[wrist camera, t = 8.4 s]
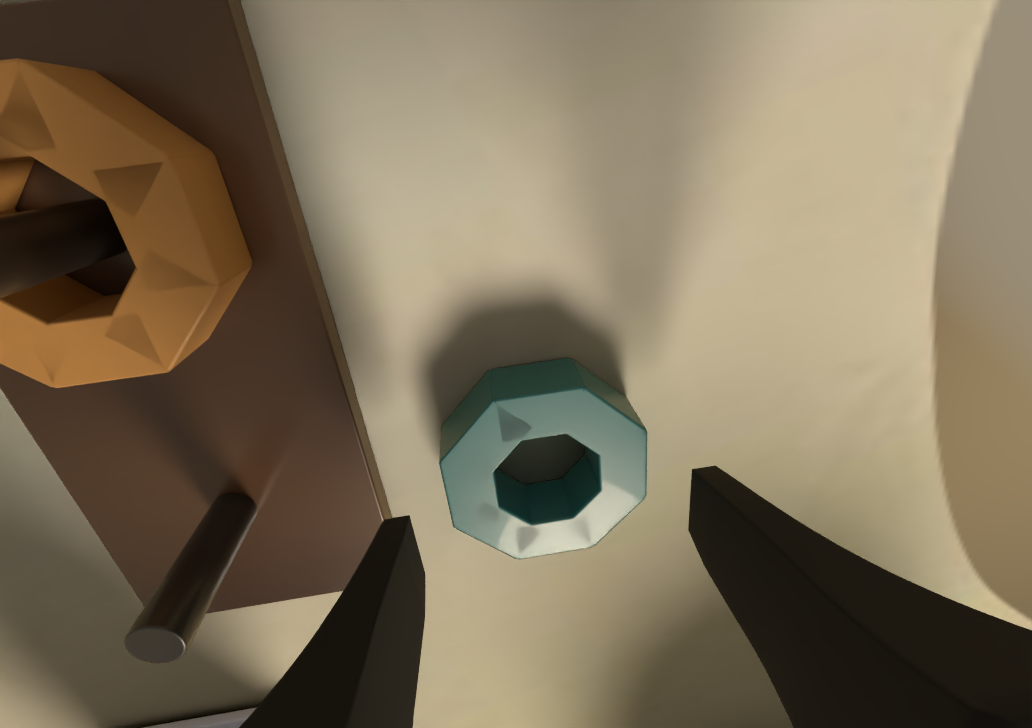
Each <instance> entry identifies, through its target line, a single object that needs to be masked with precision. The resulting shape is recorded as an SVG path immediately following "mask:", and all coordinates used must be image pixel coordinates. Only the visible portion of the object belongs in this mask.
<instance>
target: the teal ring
mask: <svg viewBox="0 0 1032 728" xmlns="http://www.w3.org/2000/svg"><path fill="white" fill-rule="evenodd" d="M562 434H567V435H569V436H570V437H572V438H573V439H575V440H576V441H578V442H579V443H581V444H583V445H584V446H585V450H586V454H585V455H584V456H583V457H582V458H581V459H580V460H579V461H578V462H577V463H576V464H575V465H574V466H573V467H572V468H571V469H570V470H569V471H568V472H567V473H566V475H565V476H564V477H563V478H562V479H557V480H551V481H544V482H538V483H532V484H525V485H524V484H522V483H520V482H518V481H517V480H515V479H513V478H511V477H510V476H508V475H506V474H504V473H503V472H501V471H499V470H498V469H496V468H497V467H498V466H499V465H500V464H501V463H502V462H503V461H504V460H505V458H506V457H507V456H508V455H509V454H510V453H511V452H512V451H513V450H514V449H515V447H516V446H517V445H518V444H519V443H520V442H521V441H523V440H530V439H536V438H542V437H549V436H555V435H562ZM439 464H440V469H441V473H442V478H443V482H444V487H445V491H446V496H447V500H448V505H449V509H450V514H451V518H452V523H453V527H454V528H456V529H457V530H459V531H461V532H463V533H465V534H467V535H469V536H471V537H473V538H475V539H477V540H479V541H481V542H483V543H485V544H487V545H489V546H491V547H493V548H495V549H497V550H499V551H501V552H503V553H505V554H507V555H509V556H511V557H513V558H515V559H517V558H518V559H525V558H531V557H537V556H543V555H549V554H555V553H562V552H568V551H574V550H580V549H586V548H591V547H592V546H595V545H596V544H597V543H598V542H599V541H600V540H601V539H602V538H603V537H604V536H605V535H606V534H608V533H609V532H610V531H611V530H612V529H613V528H614V527H615V526H616V525H617V524H618V523H619V522H620V521H621V520H622V519H623V518H624V517H626V516H627V515H628V514H629V513H630V512H631V511H632V510H633V509H634V508H635V507H636V506H637V505H638V504H639V503H640V502H641V501H642V500H644V498H645V496H646V489H647V430H646V428H645V427H644V425H643V423H642V422H641V420H640V419H639V417H638V415H637V414H636V412H635V411H634V409H633V408H632V406H631V404H630V403H629V401H628V400H627V398H626V397H624V396H623V395H622V394H620V393H619V392H618V391H616V390H615V389H613V388H612V387H611V386H609V385H608V384H606V383H605V382H604V381H602V380H601V379H600V378H598V377H597V376H595V375H594V374H593V373H591V372H590V371H588V370H587V369H586V368H584V367H583V366H582V365H580V364H579V363H577V362H576V361H575V360H573V359H570V358H565V359H558V360H551V361H545V362H538V363H531V364H524V365H517V366H510V367H504V368H497V369H491V370H488V371H487V372H486V374H485V375H484V376H483V377H482V378H481V380H480V381H479V382H478V383H477V384H476V386H475V387H474V388H473V389H472V390H471V392H470V393H469V394H468V395H467V396H466V398H465V399H464V400H463V401H462V402H461V404H460V405H459V406H458V407H457V408H456V410H455V411H454V412H453V413H452V414H451V416H450V417H449V418H448V419H447V420H446V422H445V423H444V424H443V425H442V428H441V442H440V461H439Z"/></svg>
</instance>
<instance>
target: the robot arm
mask: <svg viewBox="0 0 1032 728" xmlns="http://www.w3.org/2000/svg"><path fill="white" fill-rule="evenodd" d="M688 530H689V532H690V534H691V537H692V539H693V541H694V544H695V546H696V548H697V551H698V553H699V555H700V557H701V559H702V562H703V564H704V566H705V568H706V570H707V571H708V573H709V575H710V576H711V578H712V580H713V582H714V583H715V585H716V587H717V588H718V590H719V592H720V593H721V595H722V597H723V598H724V600H725V602H726V603H727V605H728V607H729V608H730V610H731V612H732V613H733V615H734V617H735V618H736V620H737V622H738V623H739V625H740V627H741V628H742V630H743V632H744V633H745V635H746V636H747V638H748V640H749V641H750V643H751V645H752V646H753V648H754V650H755V651H756V653H757V655H758V657H759V659H760V660H761V662H762V664H763V666H764V668H765V670H766V671H767V673H768V675H769V677H770V679H771V682H772V684H773V686H774V688H775V690H776V692H777V694H778V696H779V698H780V700H781V702H782V704H783V706H784V708H785V710H786V712H787V714H788V717H789V719H790V721H791V723H792V725H793V727H794V728H1032V630H1029V629H1026V628H1023V627H1020V626H1017V625H1015V624H1012V623H1009V622H1007V621H1004V620H1001V619H999V618H996V617H994V616H991V615H988V614H986V613H983V612H980V611H978V610H975V609H973V608H970V607H968V606H965V605H963V604H960V603H958V602H955V601H953V600H951V599H948V598H946V597H943V596H941V595H939V594H937V593H934V592H932V591H930V590H928V589H925V588H923V587H921V586H919V585H916V584H914V583H912V582H910V581H907V580H905V579H903V578H901V577H899V576H897V575H895V574H893V573H891V572H888V571H886V570H884V569H883V568H881V567H879V566H877V565H875V564H873V563H871V562H869V561H867V560H865V559H863V558H861V557H859V556H857V555H855V554H853V553H852V552H850V551H848V550H846V549H844V548H842V547H841V546H839V545H837V544H835V543H834V542H832V541H830V540H829V539H827V538H825V537H823V536H822V535H820V534H818V533H817V532H815V531H813V530H812V529H810V528H808V527H807V526H805V525H803V524H802V523H800V522H799V521H797V520H795V519H794V518H792V517H791V516H789V515H788V514H786V513H785V512H783V511H782V510H780V509H778V508H777V507H775V506H774V505H772V504H771V503H769V502H768V501H766V500H765V499H763V498H762V497H761V496H759V495H758V494H756V493H755V492H753V491H752V490H750V489H749V488H747V487H746V486H745V485H743V484H742V483H740V482H739V481H737V480H736V479H734V478H733V477H731V476H730V475H729V474H727V473H726V472H724V471H723V470H721V469H720V468H718V467H717V466H710V467H704V468H698V469H692V479H691V495H690V512H689V528H688ZM424 620H425V571H424V568H423V564H422V560H421V557H420V553H419V549H418V546H417V542H416V538H415V534H414V531H413V527H412V523H411V520H410V516H409V515H408V516H402V517H396V518H390V519H385V520H384V521H383V522H382V523H381V525H380V527H379V529H378V531H377V533H376V535H375V536H374V538H373V540H372V542H371V544H370V546H369V548H368V550H367V551H366V553H365V555H364V557H363V559H362V560H361V562H360V564H359V566H358V567H357V569H356V571H355V572H354V574H353V576H352V577H351V579H350V581H349V582H348V584H347V586H346V587H345V589H344V591H343V592H342V594H341V596H340V597H339V599H338V600H337V602H336V603H335V605H334V606H333V608H332V609H331V611H330V612H329V614H328V615H327V617H326V618H325V620H324V621H323V623H322V624H321V626H320V627H319V629H318V630H317V632H316V633H315V635H314V636H313V637H312V639H311V640H310V642H309V643H308V644H307V646H306V647H305V648H304V650H303V651H302V653H301V654H300V655H299V657H298V658H297V659H296V660H295V662H294V663H293V664H292V666H291V667H290V668H289V669H288V671H287V672H286V673H285V675H284V676H283V677H282V678H281V679H280V681H279V682H278V683H277V684H276V685H275V687H274V688H273V689H272V690H271V691H270V693H269V694H268V695H267V696H266V697H265V699H264V700H263V701H262V702H261V703H260V705H259V706H258V707H256V708H251V709H245V710H239V711H234V712H228V713H222V714H216V715H211V716H205V717H199V718H194V719H188V720H182V721H177V722H171V723H165V724H160V725H154V726H148V727H142V728H413V716H414V707H415V698H416V690H417V681H418V673H419V664H420V656H421V647H422V638H423V630H424Z"/></svg>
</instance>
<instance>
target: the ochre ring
mask: <svg viewBox="0 0 1032 728" xmlns="http://www.w3.org/2000/svg"><path fill="white" fill-rule="evenodd" d="M35 159H36V160H38V161H40V162H41V163H43V164H45V165H46V166H48V167H50V168H51V169H53V170H55V171H56V172H58V173H60V174H61V175H63V176H65V177H66V178H68V179H70V180H71V181H73V182H75V183H76V184H78V185H80V186H81V187H83V188H84V189H86V190H88V191H89V192H91V193H93V194H94V195H96V196H98V197H99V198H101V199H103V200H104V201H106V203H107V206H108V208H109V210H110V212H111V214H112V216H113V219H114V221H115V223H116V225H117V227H118V229H119V232H120V234H121V236H122V238H123V240H124V242H125V245H126V247H127V249H128V251H129V253H130V255H131V258H132V260H133V262H134V264H135V266H136V268H135V270H134V272H133V274H132V276H131V278H130V280H129V282H128V284H127V286H126V287H125V289H124V291H123V293H122V294H116V295H109V296H103V295H102V294H100V293H98V292H96V291H94V290H92V289H91V288H89V287H87V286H85V285H83V284H81V283H79V282H78V281H76V280H74V279H72V278H70V277H68V276H66V275H62V276H59V277H57V278H54V279H51V280H49V281H46V282H43V283H41V284H38V285H35V286H33V287H30V288H27V289H24V290H22V291H19V292H16V293H14V294H11V295H8V296H6V297H3V298H0V364H3V365H5V366H7V367H9V368H11V369H13V370H16V371H18V372H20V373H22V374H24V375H26V376H28V377H31V378H33V379H35V380H37V381H39V382H41V383H44V384H46V385H48V386H50V387H55V388H61V387H68V386H75V385H82V384H89V383H96V382H103V381H110V380H117V379H124V378H131V377H138V376H145V375H153V374H160V373H167V372H169V371H171V370H172V369H173V368H174V367H175V366H177V365H178V364H179V363H180V362H181V361H183V360H184V359H185V358H186V357H187V356H189V355H190V354H191V353H192V352H193V351H194V350H196V349H197V348H198V347H199V346H200V345H202V344H203V343H204V342H205V341H206V340H208V339H209V337H210V335H211V334H212V332H213V330H214V329H215V327H216V325H217V324H218V322H219V320H220V319H221V317H222V315H223V314H224V312H225V310H226V309H227V307H228V305H229V304H230V302H231V300H232V299H233V297H234V295H235V294H236V292H237V290H238V289H239V287H240V285H241V284H242V282H243V280H244V279H245V277H246V275H247V274H248V272H249V270H250V269H251V264H252V259H251V256H250V253H249V250H248V248H247V245H246V242H245V239H244V236H243V233H242V230H241V228H240V225H239V222H238V219H237V216H236V213H235V211H234V208H233V205H232V202H231V199H230V196H229V194H228V191H227V188H226V185H225V182H224V179H223V177H222V174H221V171H220V168H219V165H218V162H217V159H216V157H215V155H214V154H213V152H212V151H211V150H210V149H208V148H207V147H205V146H204V145H202V144H201V143H199V142H198V141H196V140H195V139H193V138H192V137H191V136H189V135H188V134H186V133H185V132H183V131H182V130H180V129H179V128H177V127H176V126H174V125H173V124H172V123H170V122H169V121H167V120H166V119H164V118H163V117H161V116H160V115H158V114H157V113H155V112H154V111H153V110H151V109H150V108H148V107H147V106H145V105H144V104H142V103H141V102H139V101H138V100H137V99H135V98H134V97H132V96H131V95H129V94H128V93H126V92H125V91H123V90H122V89H120V88H119V87H118V86H116V85H115V84H113V83H112V82H110V81H109V80H107V79H106V78H104V77H103V76H101V75H100V74H99V73H97V72H96V71H93V70H88V69H82V68H75V67H69V66H63V65H56V64H50V63H44V62H38V61H31V60H25V59H19V58H15V59H6V60H0V216H2V215H7V214H12V213H17V211H16V209H15V207H16V205H17V202H18V200H19V198H20V195H21V193H22V190H23V188H24V185H25V183H26V181H27V178H28V176H29V173H30V171H31V168H32V166H33V164H34V161H35Z"/></svg>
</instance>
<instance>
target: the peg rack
mask: <svg viewBox="0 0 1032 728" xmlns="http://www.w3.org/2000/svg"><path fill="white" fill-rule="evenodd" d="M15 58H19V59H25V60H31V61H38V62H44V63H50V64H56V65H63V66H69V67H75V68H82V69H88V70H93V71H96V72H97V73H99V74H100V75H101V76H103V77H104V78H106V79H107V80H109V81H110V82H112V83H113V84H115V85H116V86H118V87H119V88H120V89H122V90H123V91H125V92H126V93H128V94H129V95H131V96H132V97H134V98H135V99H137V100H138V101H139V102H141V103H142V104H144V105H145V106H147V107H148V108H150V109H151V110H153V111H154V112H155V113H157V114H158V115H160V116H161V117H163V118H164V119H166V120H167V121H169V122H170V123H172V124H173V125H174V126H176V127H177V128H179V129H180V130H182V131H183V132H185V133H186V134H188V135H189V136H191V137H192V138H193V139H195V140H196V141H198V142H199V143H201V144H202V145H204V146H205V147H207V148H208V149H210V150H211V151H212V152H213V154H214V155H215V157H216V159H217V162H218V165H219V168H220V171H221V174H222V177H223V179H224V182H225V185H226V188H227V191H228V194H229V196H230V199H231V202H232V205H233V208H234V211H235V213H236V216H237V219H238V222H239V225H240V228H241V230H242V233H243V236H244V239H245V242H246V245H247V248H248V250H249V253H250V256H251V259H252V264H251V269H250V270H249V272H248V274H247V275H246V277H245V279H244V280H243V282H242V284H241V285H240V287H239V289H238V290H237V292H236V294H235V295H234V297H233V299H232V300H231V302H230V304H229V305H228V307H227V309H226V310H225V312H224V314H223V315H222V317H221V319H220V320H219V322H218V324H217V325H216V327H215V329H214V330H213V332H212V334H211V335H210V337H209V339H208V340H206V341H205V342H204V343H203V344H202V345H200V346H199V347H198V348H197V349H196V350H194V351H193V352H192V353H191V354H190V355H189V356H187V357H186V358H185V359H184V360H183V361H181V362H180V363H179V364H178V365H177V366H175V367H174V368H173V369H172V370H171V371H169V372H167V373H160V374H153V375H145V376H138V377H131V378H124V379H117V380H110V381H103V382H96V383H89V384H82V385H75V386H68V387H61V388H55V387H50V386H48V385H46V384H44V383H41V382H39V381H37V380H35V379H33V378H31V377H28V376H26V375H24V374H22V373H20V372H18V371H16V370H13V369H11V368H9V367H7V366H5V365H3V364H0V388H1V390H2V391H3V393H4V394H5V396H6V397H7V399H8V400H9V402H10V403H11V405H12V406H13V408H14V409H15V411H16V412H17V414H18V415H19V417H20V418H21V420H22V421H23V423H24V424H25V426H26V428H27V429H28V431H29V432H30V434H31V435H32V437H33V438H34V440H35V441H36V443H37V444H38V446H39V447H40V449H41V450H42V452H43V453H44V455H45V456H46V458H47V459H48V461H49V462H50V464H51V465H52V467H53V468H54V470H55V471H56V473H57V474H58V476H59V478H60V479H61V481H62V482H63V484H64V485H65V487H66V488H67V490H68V491H69V493H70V494H71V496H72V497H73V499H74V500H75V502H76V503H77V505H78V506H79V508H80V509H81V511H82V512H83V514H84V515H85V517H86V518H87V520H88V521H89V523H90V525H91V526H92V528H93V529H94V531H95V532H96V534H97V535H98V537H99V538H100V540H101V541H102V543H103V544H104V546H105V547H106V549H107V550H108V552H109V553H110V555H111V556H112V558H113V559H114V561H115V562H116V564H117V565H118V567H119V568H120V570H121V572H122V573H123V575H124V576H125V578H126V579H127V581H128V582H129V584H130V585H131V587H132V588H133V590H134V591H135V593H136V594H137V596H138V597H139V599H140V600H141V602H142V603H143V605H144V606H145V607H144V609H143V611H142V612H141V614H140V615H139V617H138V618H137V620H136V621H135V623H134V624H133V626H132V627H131V629H130V630H129V632H128V633H127V635H126V637H125V647H126V649H127V651H128V652H129V653H130V654H131V655H133V656H134V657H136V658H138V659H140V660H143V661H146V662H150V663H168V662H172V661H175V660H177V659H179V658H180V657H181V656H182V655H183V654H184V653H185V652H186V650H187V648H188V647H189V645H190V643H191V641H192V639H193V637H194V635H195V633H196V631H197V629H198V627H199V625H200V623H201V622H202V620H203V618H204V616H205V614H206V613H212V612H218V611H224V610H230V609H236V608H242V607H248V606H254V605H260V604H266V603H272V602H278V601H284V600H290V599H296V598H303V597H309V596H315V595H321V594H327V593H333V592H339V591H344V589H345V587H346V586H347V584H348V582H349V581H350V579H351V577H352V576H353V574H354V572H355V571H356V569H357V567H358V566H359V564H360V562H361V560H362V559H363V557H364V555H365V553H366V551H367V550H368V548H369V546H370V544H371V542H372V540H373V538H374V536H375V535H376V533H377V531H378V529H379V527H380V525H381V523H382V522H383V521H384V520H385V519H390V518H392V517H391V514H390V510H389V507H388V504H387V500H386V497H385V493H384V490H383V486H382V483H381V480H380V476H379V473H378V469H377V466H376V463H375V459H374V456H373V452H372V449H371V446H370V442H369V439H368V435H367V432H366V429H365V425H364V422H363V418H362V415H361V411H360V408H359V405H358V401H357V398H356V394H355V391H354V388H353V384H352V381H351V377H350V374H349V371H348V367H347V364H346V360H345V357H344V354H343V350H342V347H341V343H340V340H339V337H338V333H337V330H336V326H335V323H334V319H333V316H332V313H331V309H330V306H329V302H328V299H327V296H326V292H325V289H324V285H323V282H322V279H321V275H320V272H319V268H318V265H317V262H316V258H315V255H314V251H313V248H312V245H311V241H310V238H309V234H308V231H307V227H306V224H305V221H304V217H303V214H302V210H301V207H300V204H299V200H298V197H297V193H296V190H295V187H294V183H293V180H292V176H291V173H290V170H289V166H288V163H287V159H286V156H285V152H284V149H283V146H282V142H281V139H280V135H279V132H278V129H277V125H276V122H275V118H274V115H273V112H272V108H271V105H270V101H269V98H268V95H267V91H266V88H265V84H264V81H263V78H262V74H261V71H260V67H259V64H258V60H257V57H256V54H255V50H254V47H253V43H252V40H251V37H250V33H249V30H248V26H247V23H246V20H245V16H244V13H243V9H242V6H241V3H240V0H34V1H25V2H15V3H6V4H0V60H6V59H15ZM15 209H16V211H17V213H12V214H7V215H2V216H0V298H3V297H6V296H8V295H11V294H14V293H16V292H19V291H22V290H24V289H27V288H30V287H33V286H35V285H38V284H41V283H43V282H46V281H49V280H51V279H54V278H57V277H59V276H62V275H66V276H68V277H70V278H72V279H74V280H76V281H78V282H79V283H81V284H83V285H85V286H87V287H89V288H91V289H92V290H94V291H96V292H98V293H100V294H102V295H103V296H109V295H116V294H122V293H123V291H124V289H125V287H126V286H127V284H128V282H129V280H130V278H131V276H132V274H133V272H134V270H135V268H136V266H135V264H134V262H133V260H132V258H131V255H130V253H129V251H128V249H127V247H126V245H125V242H124V240H123V238H122V236H121V234H120V232H119V229H118V227H117V225H116V223H115V221H114V219H113V216H112V214H111V212H110V210H109V208H108V206H107V203H106V201H104V200H103V199H101V198H99V197H98V196H96V195H94V194H93V193H91V192H89V191H88V190H86V189H84V188H83V187H81V186H80V185H78V184H76V183H75V182H73V181H71V180H70V179H68V178H66V177H65V176H63V175H61V174H60V173H58V172H56V171H55V170H53V169H51V168H50V167H48V166H46V165H45V164H43V163H41V162H40V161H38V160H36V159H35V161H34V164H33V166H32V168H31V171H30V173H29V176H28V178H27V181H26V183H25V185H24V188H23V190H22V193H21V195H20V198H19V200H18V202H17V205H16V207H15Z"/></svg>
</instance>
